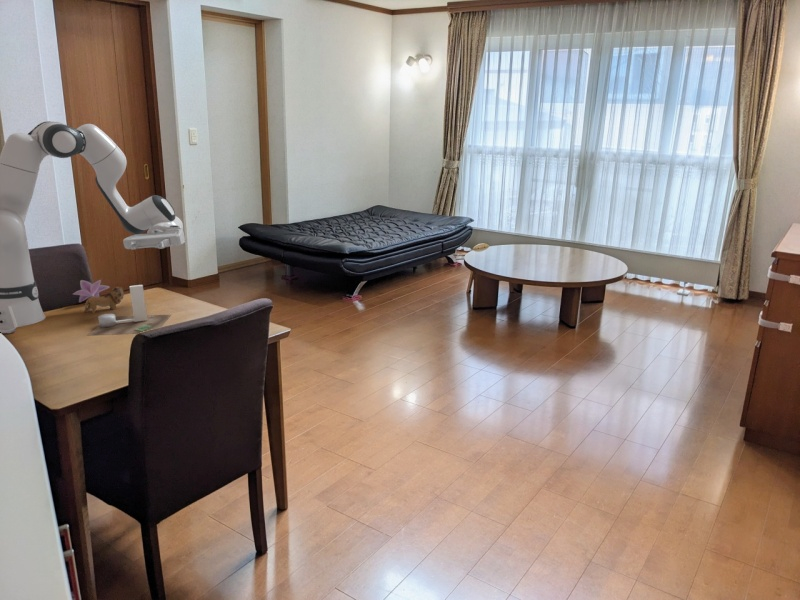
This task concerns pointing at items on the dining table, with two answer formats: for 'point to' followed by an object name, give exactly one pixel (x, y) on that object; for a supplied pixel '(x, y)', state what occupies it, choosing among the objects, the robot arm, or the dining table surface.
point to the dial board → (131, 325)
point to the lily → (90, 289)
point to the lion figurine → (105, 300)
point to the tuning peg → (137, 306)
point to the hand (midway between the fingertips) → (146, 246)
